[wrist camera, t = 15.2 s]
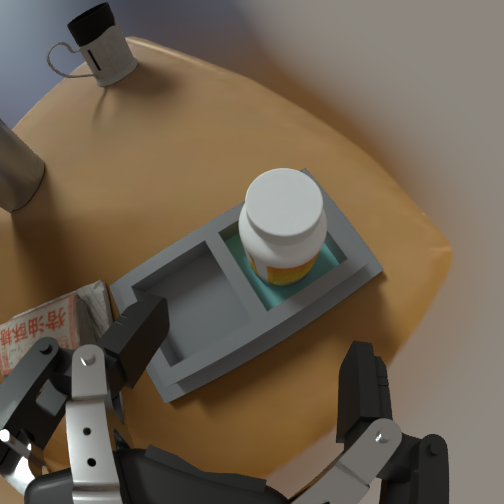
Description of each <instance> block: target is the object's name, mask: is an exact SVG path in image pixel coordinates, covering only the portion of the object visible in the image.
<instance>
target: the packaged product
mask: <svg viewBox="0 0 504 504" xmlns="http://www.w3.org/2000/svg"><path fill="white" fill-rule="evenodd" d="M112 324H113V318H112V313H111V308H110V302H109V297H108V292H107V288H106V284H105V282H104V281H102V280H99V281H97V282H95V283H92V284H89V285H86V286H84V287H81V288H79V289H77V290H75V291H73V292H70V293H68V294H65V295H63V296H60V297H58V298H55V299H53V300H51V301H48V302H45V303H43V304H41V305H40V306H39V307H35V308H32V309H30V310H28V311H26V312H24V313H21V314H18V315H16V316H14V317H12V318H10V319H9V321H7V322H5V323H3V324H1V325H0V368H1V373H2V376H3V377H5V378H7V376H8V375H9V374H10V372H11V371H12V370H13V369H14V367H15V366H16V365H17V364H18V362H19V361H20V360H21V359H22V358H23V356H24V355H25V354H26V353H27V352H28V350H29V349H30V348H31V347H32V346H33V345H34V343H35V342H36V341H37V340H39V339H40V338H43V337H53V338H55V339H56V340H57V342H58V344H59V346H60V347H61V348H66V349H72V350H77V349H78V348H80V347H81V346H84V345H89V344H91V345H94V344H95V343H96V342H97V341H98V340H99V339H100V338H101V336H102V335H103V334H104V333H105V332H106V331H107V329H108V328H109V327H110V326H111V325H112ZM48 383H49V380H47V381H46V382H45V384H44V385H43V387H42V388H41V389H40V391H39V392H42V391H43V390H44V388H45V387H46V385H47V384H48Z"/></svg>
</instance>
